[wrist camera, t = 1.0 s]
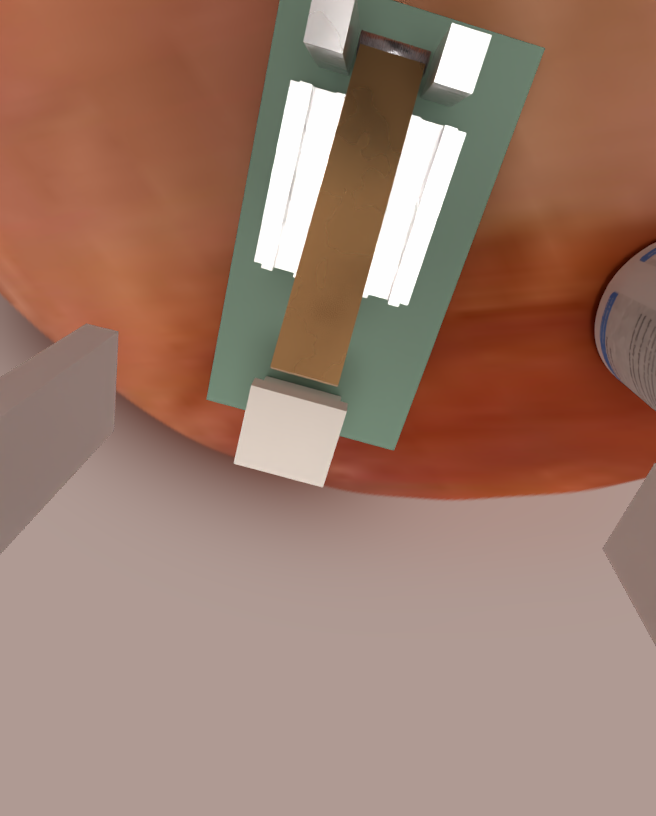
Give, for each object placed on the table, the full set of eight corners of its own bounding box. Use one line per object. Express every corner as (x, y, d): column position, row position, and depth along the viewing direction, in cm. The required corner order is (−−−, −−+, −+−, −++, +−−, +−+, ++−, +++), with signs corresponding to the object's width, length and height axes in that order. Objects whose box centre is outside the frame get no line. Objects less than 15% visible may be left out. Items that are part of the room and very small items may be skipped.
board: (288, -27, 26) (285, -34, 25) (539, 51, 27) (545, 48, 26) (210, 393, 36) (206, 399, 35) (393, 443, 37) (393, 450, 36)
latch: (274, 341, 33) (251, 385, 27) (351, 363, 33) (346, 411, 27) (258, 408, 35) (233, 463, 29) (331, 428, 35) (322, 487, 29)
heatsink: (308, 13, 26) (290, -28, 20) (484, 68, 26) (516, 42, 20) (258, 257, 31) (232, 280, 25) (406, 299, 31) (414, 332, 26)
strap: (360, 40, 24) (362, 24, 23) (427, 61, 24) (433, 45, 23) (268, 368, 23) (267, 365, 22) (338, 387, 24) (340, 385, 23)
